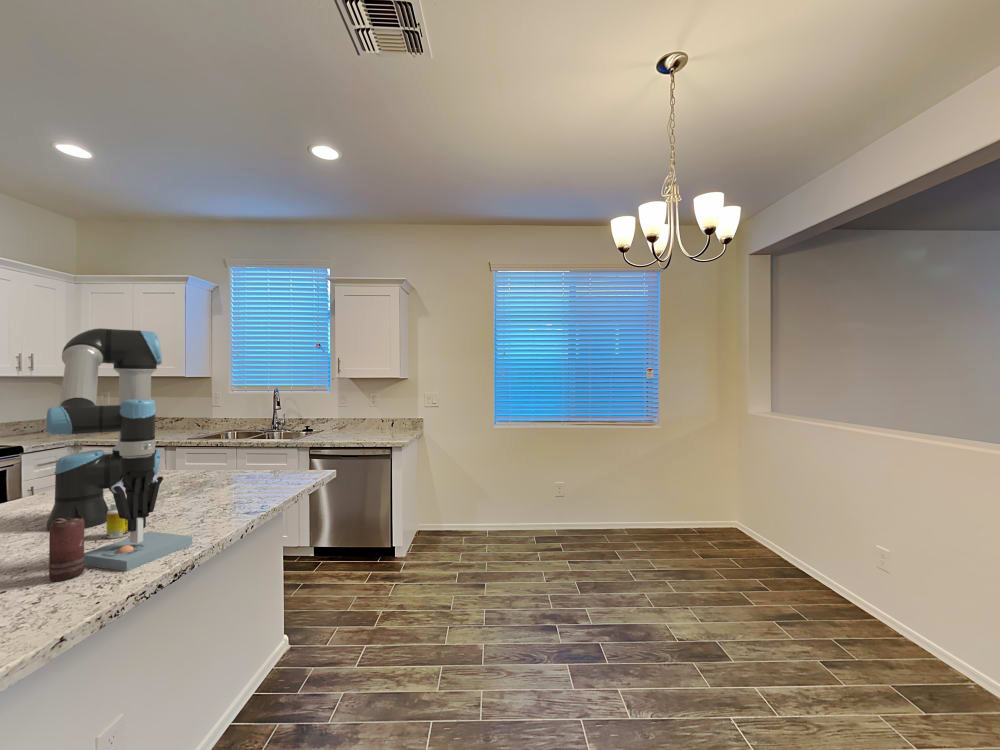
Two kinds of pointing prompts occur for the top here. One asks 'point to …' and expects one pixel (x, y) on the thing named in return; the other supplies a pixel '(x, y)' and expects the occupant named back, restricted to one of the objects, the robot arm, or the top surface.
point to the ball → (125, 549)
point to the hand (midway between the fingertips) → (136, 541)
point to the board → (137, 551)
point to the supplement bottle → (116, 524)
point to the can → (66, 548)
